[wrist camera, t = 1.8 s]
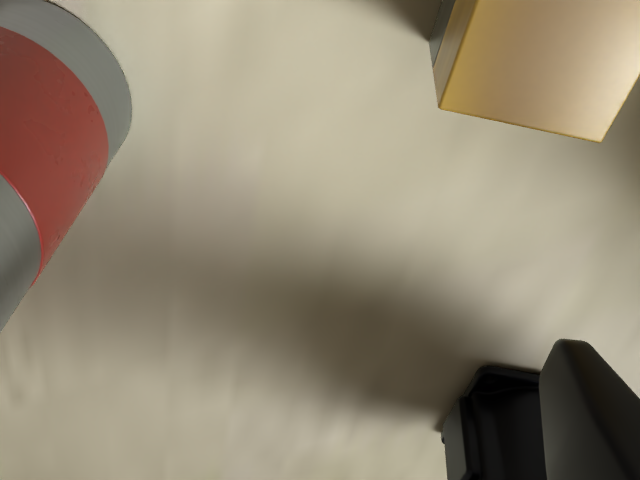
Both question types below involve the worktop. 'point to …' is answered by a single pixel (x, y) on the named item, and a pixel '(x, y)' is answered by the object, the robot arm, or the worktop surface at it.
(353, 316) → the worktop surface
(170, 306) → the worktop surface
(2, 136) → the tin can
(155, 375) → the worktop surface
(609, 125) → the golden brown bar
